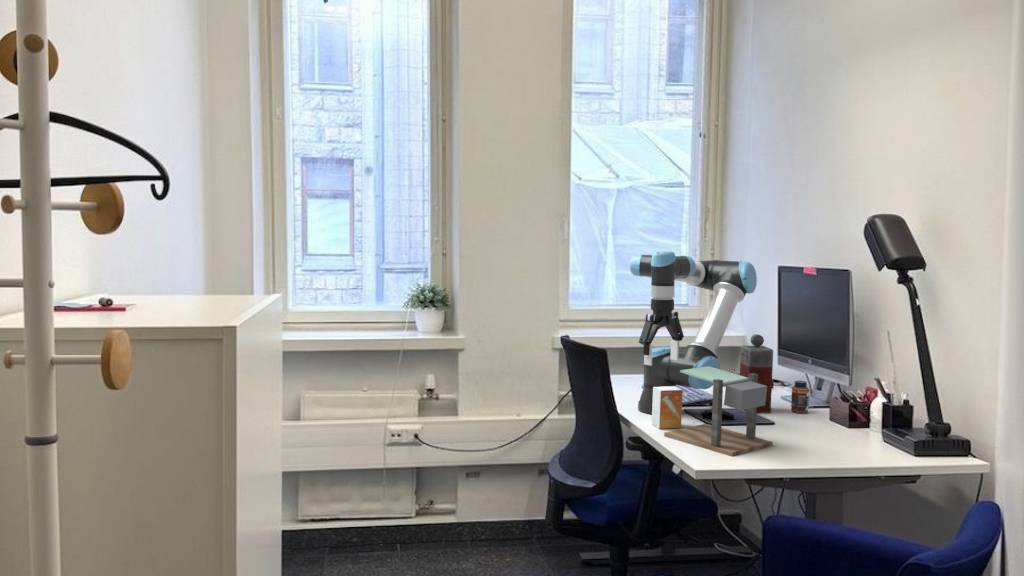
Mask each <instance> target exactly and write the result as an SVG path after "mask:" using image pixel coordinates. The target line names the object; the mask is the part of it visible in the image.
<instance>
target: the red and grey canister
mask: <svg viewBox="0 0 1024 576" xmlns="http://www.w3.org/2000/svg"><path fill="white" fill-rule="evenodd" d="M764 341H765V340H764V337H763V336H762V335H761V334H759V333H757V334H753V335H752V336H751V337H750V343H751V345H741V346H740V358H739V359H740V360H739V363H740V364H739V375H740V376H744V377H747V378H748V375H749V374H751V373H754V374H758V384H762V385H765V386H767V394H766V402H765V405H764V406H760V407H757V410H756V414H771V411H772V391H773V390H772V388H773V387H772V386H773V369H774V367H773V363H774V350H773V349H772V348H770V347H768V346H765V345H763V344H764ZM745 411H746V412H747V409H745V410H744V411H743V412H745ZM746 412H745V413H746Z"/></svg>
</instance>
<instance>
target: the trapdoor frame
mask: <svg viewBox="0 0 1024 576" xmlns="http://www.w3.org/2000/svg"><path fill="white" fill-rule="evenodd" d="M748 378H751V379H752V382H755V383H758V374H754V373H751V374H749V375H748ZM723 389H724V387H723V380H720V379H714V380H713V386H712V406H711V407H712V412H711V414H712V415H711V424H707V423H703V424H699V425H698V424H697V425H693V426H688V427H684V428H677V429H674V430H669V431H665V432H664V433H663V434H664V435H663V437H666V438H668V439H673V440H675V441H679V442H682V443H686V444H689V445H692V446H696V447H699V448H703V449H706V450H709V451H713V452H716V453H719V454H723V455H727V456H728V457H729V456H730V457H734V456H738V455H739V456H740V455H742V454H746V453H749V452H754V451H757V450H758V451H759V450H761V449H765V448H769V447H773V446H774V444H773V443H774V441H773V440H768V439H764V438H760V437H756V433H757V432H756V430H757V413H756V410H757V407H755V408H750V409H747V413H746V425H745V426H746V428H745V429H746V431H745V433H742V432H738V431H735V430H730V429H727V428H723V427H722V422H723V421H722V420H723V398H724V397H723V395H724V390H723Z"/></svg>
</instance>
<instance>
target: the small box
mask: <svg viewBox="0 0 1024 576" xmlns="http://www.w3.org/2000/svg"><path fill="white" fill-rule="evenodd" d="M683 393H684V391H683V389H681V388H679V387H677V385H676V386H663V387H653V403H652V414H651V425H652V426H654V427H656V428H657V429H659V430H663V429H682V417H683V416H682V414H683V413H682V412H683Z"/></svg>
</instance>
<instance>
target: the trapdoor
mask: <svg viewBox="0 0 1024 576" xmlns="http://www.w3.org/2000/svg"><path fill="white" fill-rule="evenodd" d="M680 372H681V373H684V374H687V375H691V376H694V377H697V378H700V379H703V380H706V381H709V382H713V380H714V379H720V380H723V388H725V392H724V400H723V405H724V406H726V407H730V408H732V409H735V410H738V411H743V410H745V409H750V408H755V407H760V406H764V405H765V402H766V394H767V386H765V385H762V384H758V383H755V382H752V379H751V378H747V377H744V376H740V374H736V373H733V372H729V371H726V370H724V369H721V368H720V369H717V368H713V367H710V366H706V367H699V368H693V369H686V370H680Z"/></svg>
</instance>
